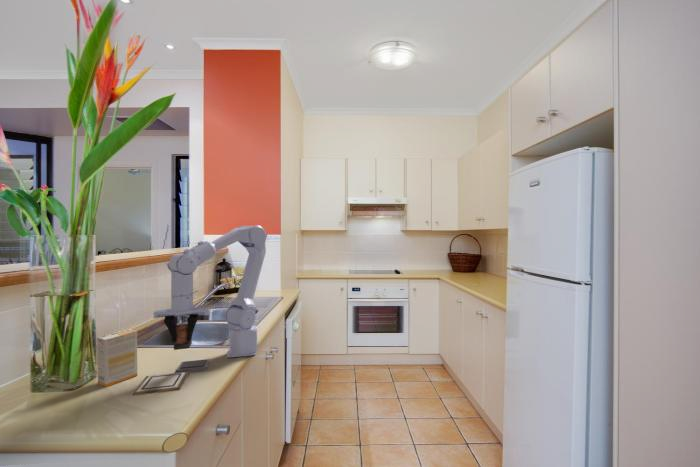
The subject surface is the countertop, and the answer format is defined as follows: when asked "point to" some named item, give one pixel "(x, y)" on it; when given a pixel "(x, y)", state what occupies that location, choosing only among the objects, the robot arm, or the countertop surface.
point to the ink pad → (193, 366)
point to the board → (161, 383)
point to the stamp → (182, 337)
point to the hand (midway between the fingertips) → (182, 340)
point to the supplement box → (117, 357)
